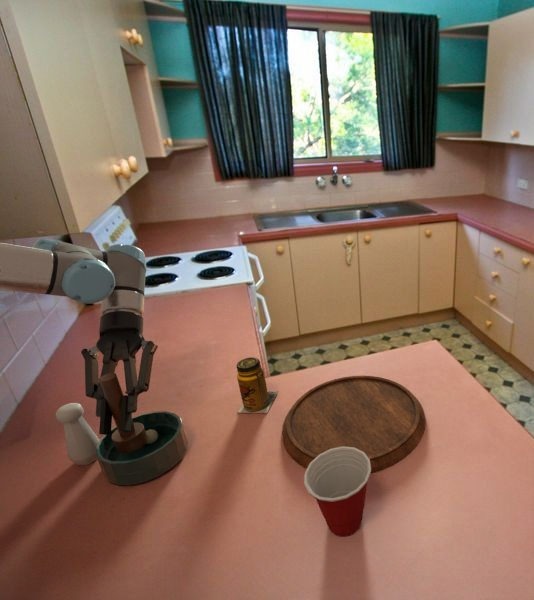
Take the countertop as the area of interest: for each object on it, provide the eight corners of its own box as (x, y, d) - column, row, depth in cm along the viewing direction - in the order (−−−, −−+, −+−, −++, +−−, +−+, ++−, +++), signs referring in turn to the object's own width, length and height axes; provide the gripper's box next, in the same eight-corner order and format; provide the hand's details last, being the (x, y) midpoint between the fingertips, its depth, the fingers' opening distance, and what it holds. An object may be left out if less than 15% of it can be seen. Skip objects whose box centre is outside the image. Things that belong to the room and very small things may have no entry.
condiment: (237, 413, 101) (227, 370, 96) (250, 391, 108) (242, 351, 104) (267, 413, 100) (258, 370, 95) (278, 392, 108) (271, 351, 103)
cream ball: (142, 448, 90) (138, 437, 89) (145, 439, 92) (142, 428, 91) (158, 445, 91) (154, 434, 89) (161, 436, 93) (157, 425, 92)
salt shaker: (108, 457, 89) (88, 406, 83) (76, 473, 85) (53, 421, 80) (100, 444, 92) (80, 394, 87) (68, 459, 88) (46, 408, 83)
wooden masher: (112, 456, 83) (85, 388, 76) (120, 437, 88) (95, 371, 81) (144, 449, 84) (120, 382, 78) (150, 431, 89) (128, 366, 83)
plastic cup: (306, 507, 76) (298, 455, 71) (365, 488, 79) (360, 438, 74) (318, 562, 66) (309, 506, 62) (383, 538, 70) (380, 484, 65)
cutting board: (317, 504, 76) (315, 493, 75) (263, 411, 101) (261, 402, 100) (454, 433, 92) (454, 424, 91) (379, 368, 117) (378, 360, 116)
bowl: (94, 496, 79) (83, 472, 77) (117, 441, 93) (109, 419, 90) (182, 475, 83) (174, 452, 81) (192, 426, 97) (186, 405, 94)
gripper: (170, 317, 93) (168, 427, 85) (90, 326, 90) (79, 441, 82) (156, 305, 86) (152, 423, 78) (69, 314, 83) (55, 438, 75)
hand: (115, 432), depth 80 cm, fingers closed on wooden masher, 3 cm apart
